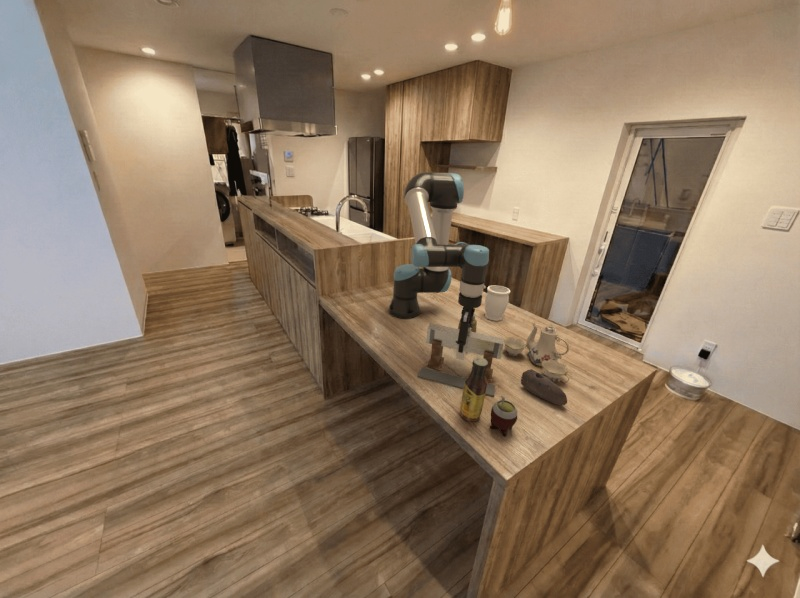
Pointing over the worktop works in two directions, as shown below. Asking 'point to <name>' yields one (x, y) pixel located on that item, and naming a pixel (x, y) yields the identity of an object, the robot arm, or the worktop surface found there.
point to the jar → (496, 302)
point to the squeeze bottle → (473, 329)
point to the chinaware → (541, 351)
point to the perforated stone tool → (543, 387)
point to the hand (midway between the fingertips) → (462, 350)
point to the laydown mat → (449, 379)
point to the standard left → (436, 356)
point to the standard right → (488, 370)
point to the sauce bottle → (474, 390)
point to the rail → (473, 342)
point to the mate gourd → (503, 416)
